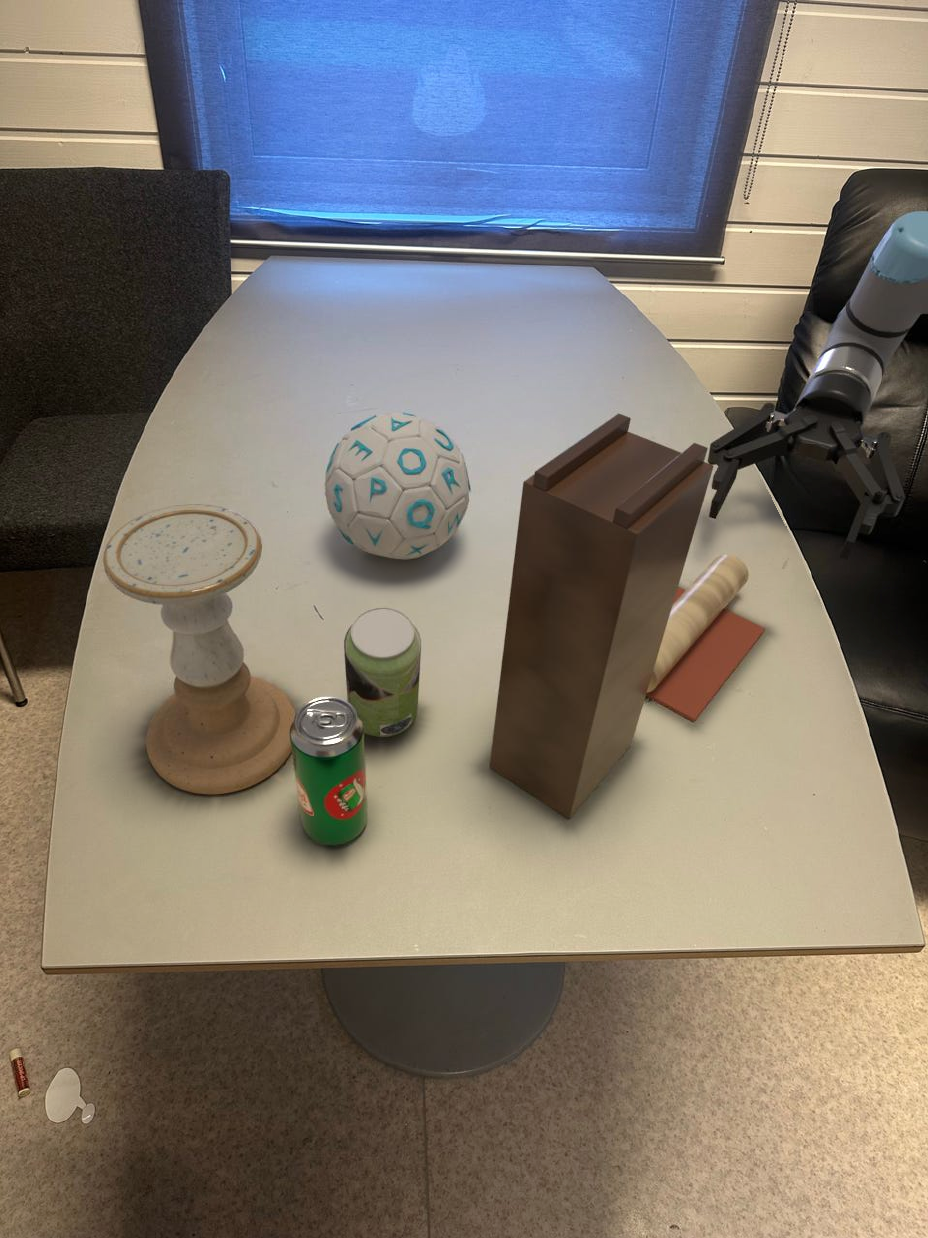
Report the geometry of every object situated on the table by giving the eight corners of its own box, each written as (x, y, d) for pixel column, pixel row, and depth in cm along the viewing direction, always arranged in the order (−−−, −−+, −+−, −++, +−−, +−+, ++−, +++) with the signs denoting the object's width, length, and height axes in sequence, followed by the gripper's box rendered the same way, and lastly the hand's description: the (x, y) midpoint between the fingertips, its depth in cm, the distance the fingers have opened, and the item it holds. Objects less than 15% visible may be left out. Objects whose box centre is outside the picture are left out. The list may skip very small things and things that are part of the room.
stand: (631, 745, 71) (718, 451, 52) (569, 820, 65) (641, 519, 46) (554, 700, 75) (609, 408, 56) (488, 767, 69) (524, 466, 49)
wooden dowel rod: (707, 576, 89) (718, 547, 86) (741, 594, 87) (754, 565, 84) (613, 677, 77) (622, 648, 74) (650, 700, 75) (662, 670, 72)
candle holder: (306, 685, 75) (286, 497, 61) (288, 798, 65) (259, 607, 52) (168, 682, 74) (117, 492, 61) (130, 795, 65) (59, 601, 51)
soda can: (303, 796, 66) (289, 693, 58) (367, 792, 66) (362, 690, 58) (300, 852, 62) (286, 750, 54) (368, 847, 63) (363, 746, 55)
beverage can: (407, 684, 75) (408, 583, 67) (430, 745, 70) (434, 644, 62) (339, 698, 74) (332, 596, 66) (357, 761, 69) (352, 659, 60)
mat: (764, 631, 83) (765, 628, 83) (693, 722, 74) (694, 719, 74) (659, 580, 89) (660, 577, 88) (580, 659, 79) (581, 656, 79)
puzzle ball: (306, 570, 87) (295, 444, 77) (358, 495, 98) (354, 376, 88) (444, 601, 84) (451, 475, 74) (481, 520, 95) (491, 401, 85)
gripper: (942, 451, 93) (895, 591, 83) (724, 396, 102) (659, 517, 92) (968, 399, 86) (920, 544, 77) (734, 345, 95) (665, 469, 86)
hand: (778, 529), depth 85 cm, fingers open, 13 cm apart
